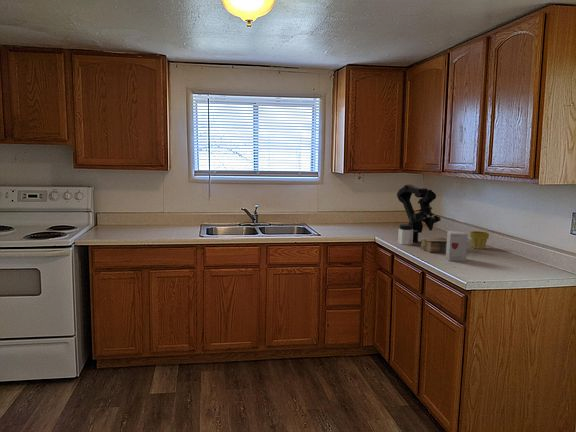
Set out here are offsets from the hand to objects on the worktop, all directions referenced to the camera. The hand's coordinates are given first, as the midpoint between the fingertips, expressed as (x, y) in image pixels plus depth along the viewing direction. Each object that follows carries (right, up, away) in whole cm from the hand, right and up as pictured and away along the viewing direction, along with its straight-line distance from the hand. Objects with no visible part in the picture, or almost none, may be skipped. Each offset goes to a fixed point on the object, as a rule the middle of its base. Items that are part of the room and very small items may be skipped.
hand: (430, 230), depth 292 cm
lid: (+2, -6, -7) cm, 9 cm away
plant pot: (+30, -11, +4) cm, 32 cm away
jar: (-12, -9, +15) cm, 21 cm away
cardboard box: (+1, -12, -6) cm, 13 cm away
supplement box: (+4, -15, -30) cm, 34 cm away
